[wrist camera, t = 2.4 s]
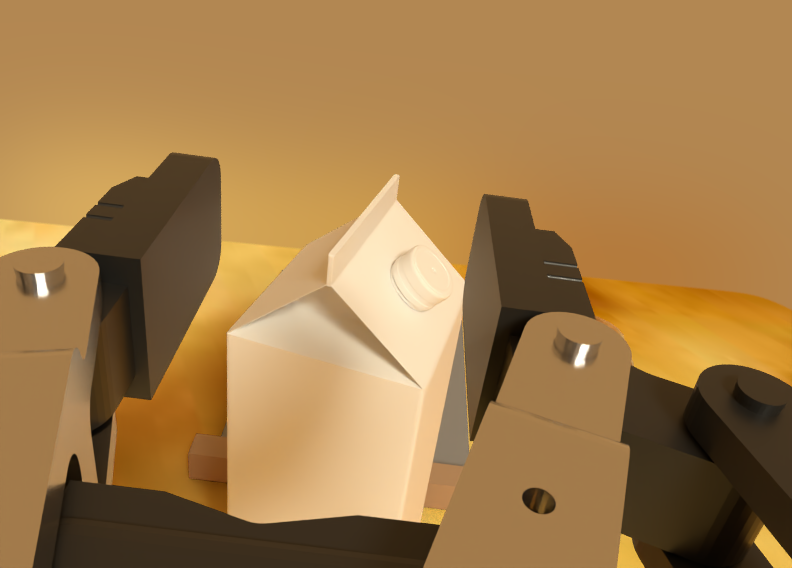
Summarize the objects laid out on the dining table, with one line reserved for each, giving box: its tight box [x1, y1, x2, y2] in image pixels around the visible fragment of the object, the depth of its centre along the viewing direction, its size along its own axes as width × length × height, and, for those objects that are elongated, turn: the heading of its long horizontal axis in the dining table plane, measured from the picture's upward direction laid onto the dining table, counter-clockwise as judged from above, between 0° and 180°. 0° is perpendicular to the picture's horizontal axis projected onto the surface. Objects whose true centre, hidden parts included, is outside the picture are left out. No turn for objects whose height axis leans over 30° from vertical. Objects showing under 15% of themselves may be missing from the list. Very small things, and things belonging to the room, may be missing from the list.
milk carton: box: [227, 174, 465, 523], centre depth 29 cm, size 7×7×19 cm
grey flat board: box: [188, 270, 469, 510], centre depth 47 cm, size 16×21×2 cm
